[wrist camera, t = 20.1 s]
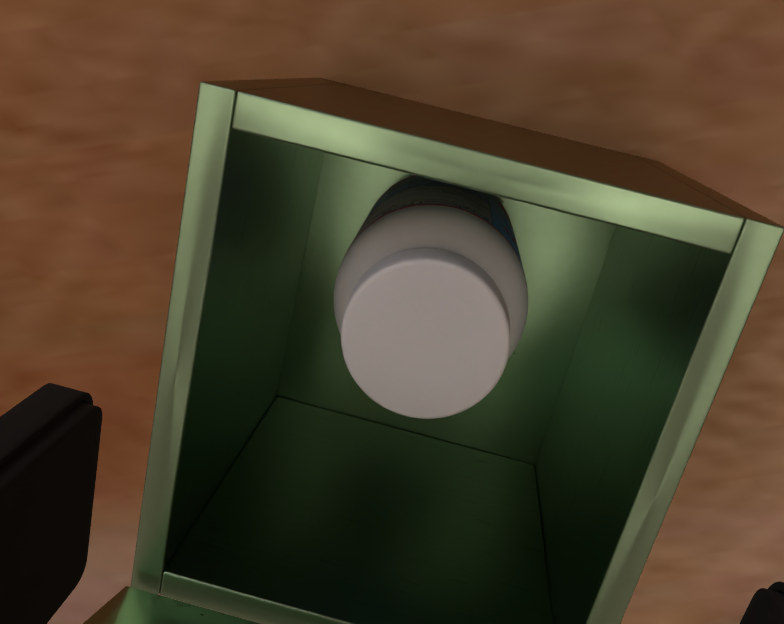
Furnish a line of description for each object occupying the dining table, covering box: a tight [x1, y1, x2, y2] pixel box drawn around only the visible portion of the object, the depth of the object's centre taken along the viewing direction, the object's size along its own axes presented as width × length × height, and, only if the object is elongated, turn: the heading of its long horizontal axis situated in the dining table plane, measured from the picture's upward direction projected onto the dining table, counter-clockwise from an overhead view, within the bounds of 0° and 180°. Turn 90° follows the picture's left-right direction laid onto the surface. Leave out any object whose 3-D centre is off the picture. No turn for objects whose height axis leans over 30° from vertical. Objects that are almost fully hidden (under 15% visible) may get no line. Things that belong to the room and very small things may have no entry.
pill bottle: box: [334, 175, 528, 419], centre depth 25 cm, size 6×6×11 cm
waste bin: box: [131, 78, 784, 624], centre depth 26 cm, size 15×14×13 cm
